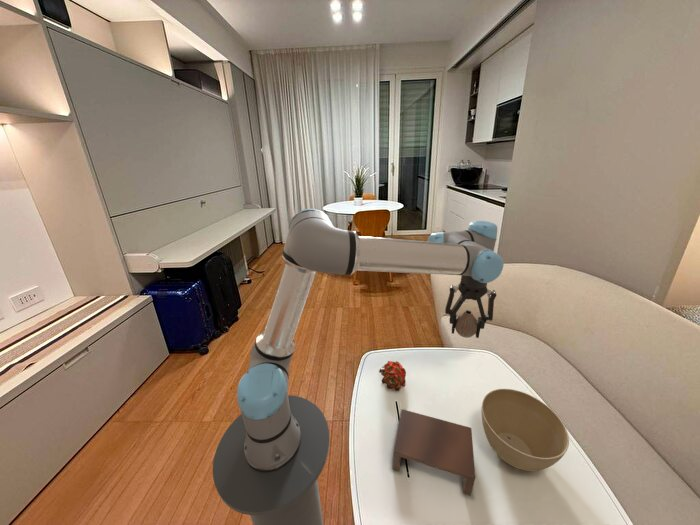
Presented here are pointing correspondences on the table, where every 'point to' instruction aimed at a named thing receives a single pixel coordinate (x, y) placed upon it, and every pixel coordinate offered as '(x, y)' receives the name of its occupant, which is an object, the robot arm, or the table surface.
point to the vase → (466, 324)
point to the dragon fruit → (393, 375)
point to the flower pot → (523, 430)
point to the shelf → (436, 446)
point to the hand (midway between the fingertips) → (464, 333)
